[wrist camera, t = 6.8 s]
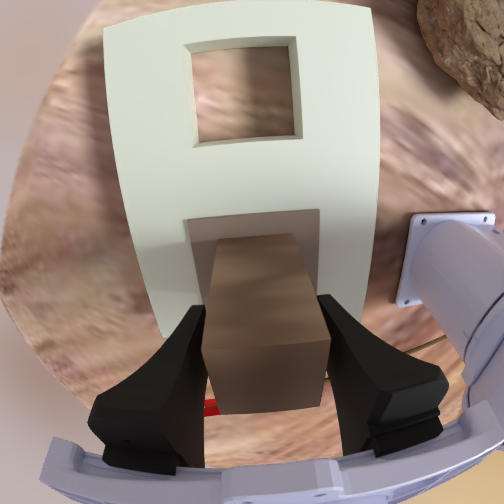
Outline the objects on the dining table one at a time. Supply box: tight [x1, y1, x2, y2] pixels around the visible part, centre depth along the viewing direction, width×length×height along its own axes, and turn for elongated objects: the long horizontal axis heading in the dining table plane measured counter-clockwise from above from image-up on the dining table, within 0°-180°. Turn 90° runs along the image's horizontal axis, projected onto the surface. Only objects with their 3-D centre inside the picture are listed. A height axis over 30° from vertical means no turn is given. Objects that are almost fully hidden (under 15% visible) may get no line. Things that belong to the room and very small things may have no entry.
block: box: [201, 233, 331, 415], centre depth 13 cm, size 4×4×8 cm
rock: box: [416, 0, 504, 121], centre depth 10 cm, size 13×11×5 cm
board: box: [103, 0, 380, 338], centre depth 16 cm, size 14×20×3 cm
